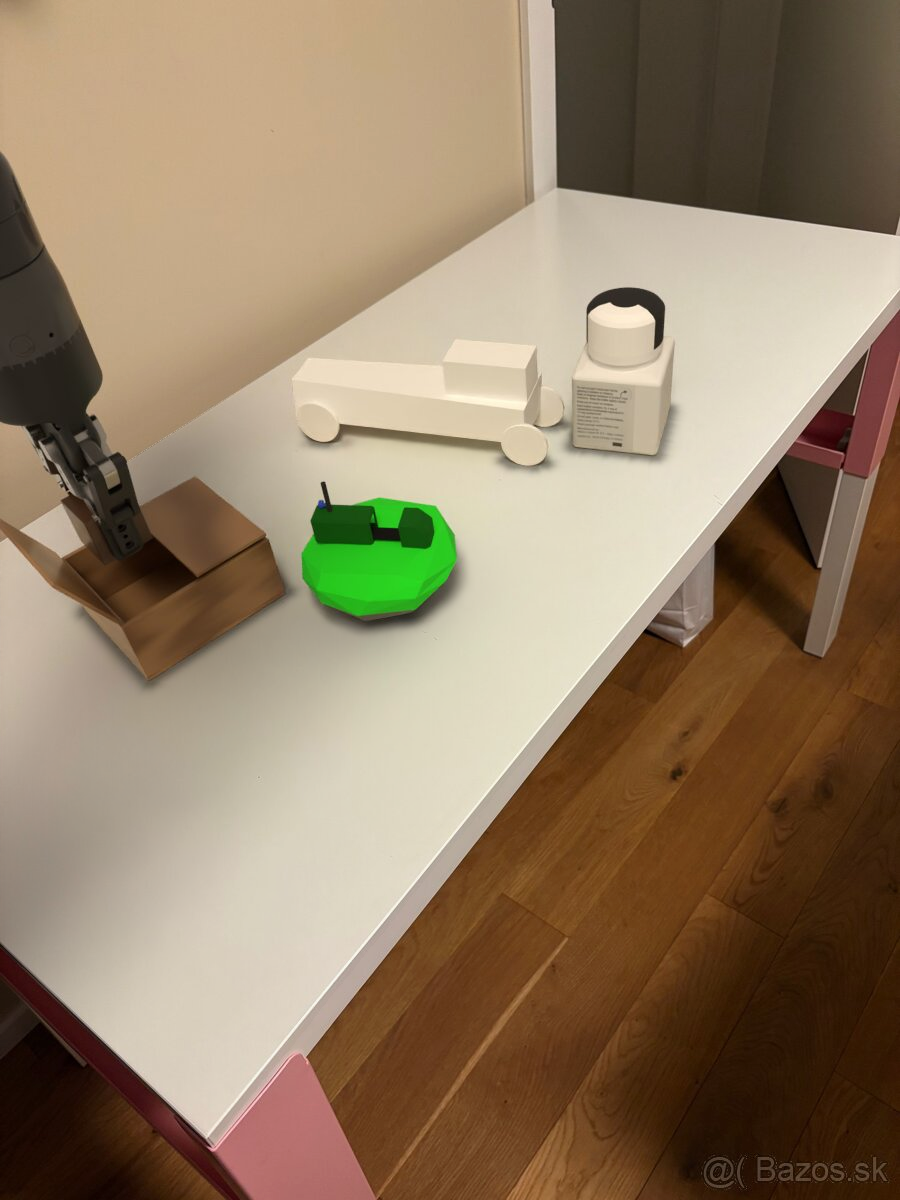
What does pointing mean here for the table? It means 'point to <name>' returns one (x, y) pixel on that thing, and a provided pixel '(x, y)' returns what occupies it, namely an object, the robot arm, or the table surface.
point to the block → (97, 528)
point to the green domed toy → (377, 556)
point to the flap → (55, 570)
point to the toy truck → (435, 397)
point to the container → (623, 374)
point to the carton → (182, 578)
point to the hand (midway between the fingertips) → (114, 538)
